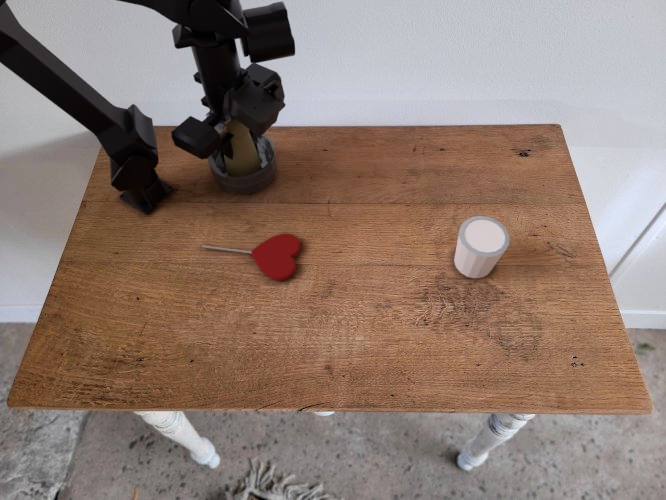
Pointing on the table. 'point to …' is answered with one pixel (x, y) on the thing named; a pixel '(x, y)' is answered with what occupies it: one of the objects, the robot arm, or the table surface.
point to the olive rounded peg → (241, 151)
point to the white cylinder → (480, 246)
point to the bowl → (253, 180)
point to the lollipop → (274, 255)
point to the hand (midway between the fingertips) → (239, 149)
